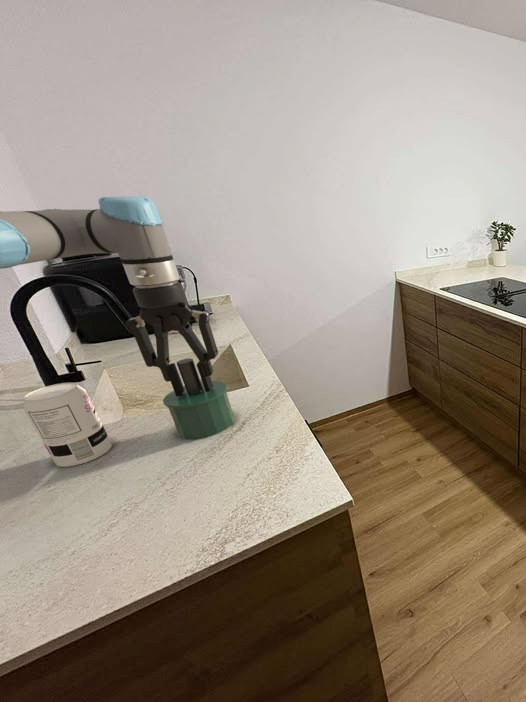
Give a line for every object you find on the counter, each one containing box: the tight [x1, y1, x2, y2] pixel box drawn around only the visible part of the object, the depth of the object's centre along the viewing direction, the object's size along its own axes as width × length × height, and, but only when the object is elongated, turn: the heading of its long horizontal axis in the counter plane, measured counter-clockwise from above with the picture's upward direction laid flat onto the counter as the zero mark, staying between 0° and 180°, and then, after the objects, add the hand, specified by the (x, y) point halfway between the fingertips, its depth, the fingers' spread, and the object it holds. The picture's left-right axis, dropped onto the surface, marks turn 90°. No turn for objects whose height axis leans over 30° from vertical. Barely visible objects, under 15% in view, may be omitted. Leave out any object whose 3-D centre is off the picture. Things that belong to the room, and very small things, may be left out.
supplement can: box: [22, 382, 113, 468], centre depth 73 cm, size 8×8×15 cm
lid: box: [162, 357, 228, 409], centre depth 80 cm, size 11×11×9 cm
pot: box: [167, 391, 236, 440], centre depth 83 cm, size 10×10×8 cm
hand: (195, 390), depth 81 cm, fingers open, 5 cm apart
